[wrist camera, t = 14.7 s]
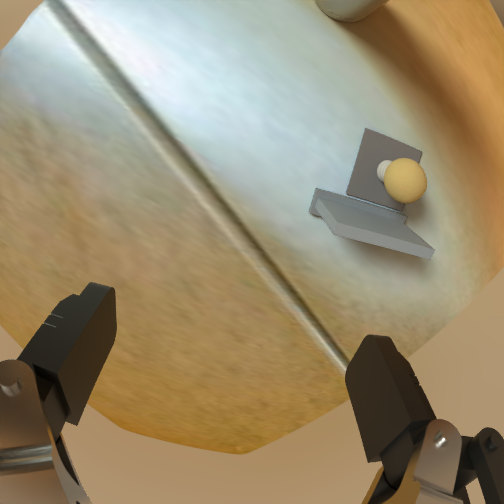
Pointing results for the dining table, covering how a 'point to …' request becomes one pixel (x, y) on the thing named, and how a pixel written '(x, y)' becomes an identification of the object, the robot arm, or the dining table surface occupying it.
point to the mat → (367, 162)
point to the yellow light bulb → (403, 179)
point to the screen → (368, 223)
